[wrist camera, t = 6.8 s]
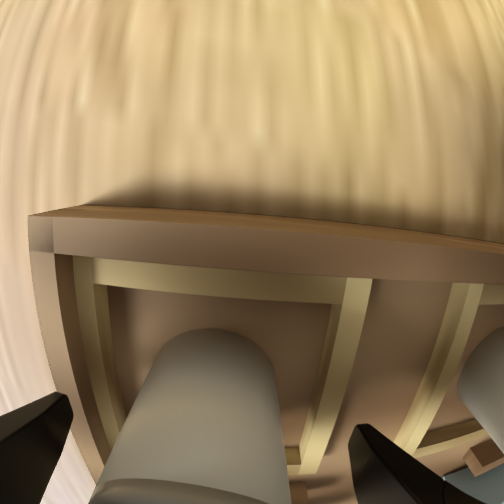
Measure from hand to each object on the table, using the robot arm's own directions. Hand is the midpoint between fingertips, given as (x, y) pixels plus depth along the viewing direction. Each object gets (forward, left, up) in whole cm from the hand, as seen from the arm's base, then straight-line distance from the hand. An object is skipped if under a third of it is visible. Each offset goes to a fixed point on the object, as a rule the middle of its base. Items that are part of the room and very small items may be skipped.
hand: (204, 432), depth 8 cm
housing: (-2, -10, -4) cm, 11 cm away
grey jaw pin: (0, 0, -3) cm, 3 cm away
